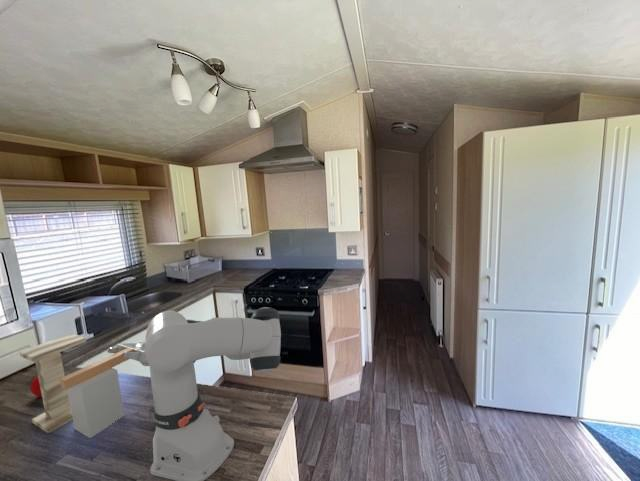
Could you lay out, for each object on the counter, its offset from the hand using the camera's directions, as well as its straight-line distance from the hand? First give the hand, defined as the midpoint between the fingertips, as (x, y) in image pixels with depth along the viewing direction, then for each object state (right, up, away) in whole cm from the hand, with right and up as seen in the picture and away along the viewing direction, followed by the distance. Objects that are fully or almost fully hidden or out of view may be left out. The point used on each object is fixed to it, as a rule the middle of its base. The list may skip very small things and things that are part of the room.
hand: (116, 352), depth 97 cm
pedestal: (-2, -22, -5) cm, 22 cm away
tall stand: (-18, -22, +1) cm, 29 cm away
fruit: (-38, -22, +14) cm, 46 cm away
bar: (-2, -5, -4) cm, 6 cm away
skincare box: (-57, -21, +35) cm, 70 cm away
